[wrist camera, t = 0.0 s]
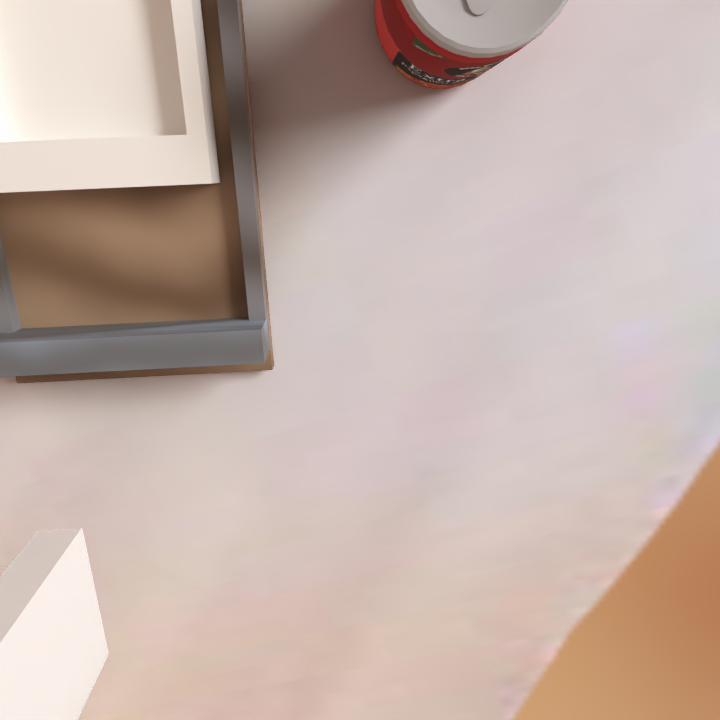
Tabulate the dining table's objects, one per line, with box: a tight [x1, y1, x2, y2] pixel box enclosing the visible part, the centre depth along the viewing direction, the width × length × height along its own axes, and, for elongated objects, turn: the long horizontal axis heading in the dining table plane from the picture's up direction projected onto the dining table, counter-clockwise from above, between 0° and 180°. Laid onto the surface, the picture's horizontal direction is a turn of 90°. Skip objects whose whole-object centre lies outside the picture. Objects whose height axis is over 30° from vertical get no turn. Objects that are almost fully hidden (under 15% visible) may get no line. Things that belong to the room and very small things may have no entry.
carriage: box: [0, 0, 220, 193], centre depth 31 cm, size 14×12×2 cm
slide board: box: [0, 0, 274, 383], centre depth 32 cm, size 27×16×4 cm, turn 3°
